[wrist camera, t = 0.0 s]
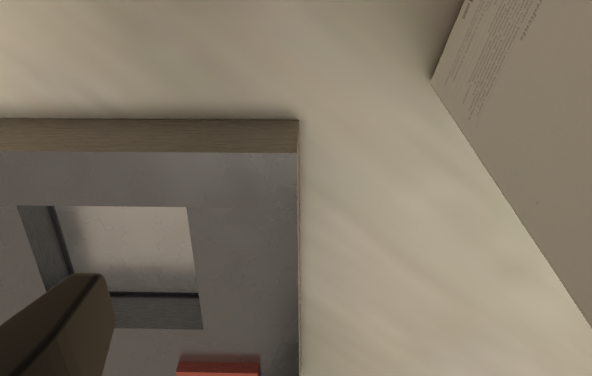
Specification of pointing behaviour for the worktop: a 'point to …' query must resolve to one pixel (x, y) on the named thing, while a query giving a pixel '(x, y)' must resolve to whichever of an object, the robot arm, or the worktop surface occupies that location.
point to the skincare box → (530, 119)
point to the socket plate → (162, 236)
